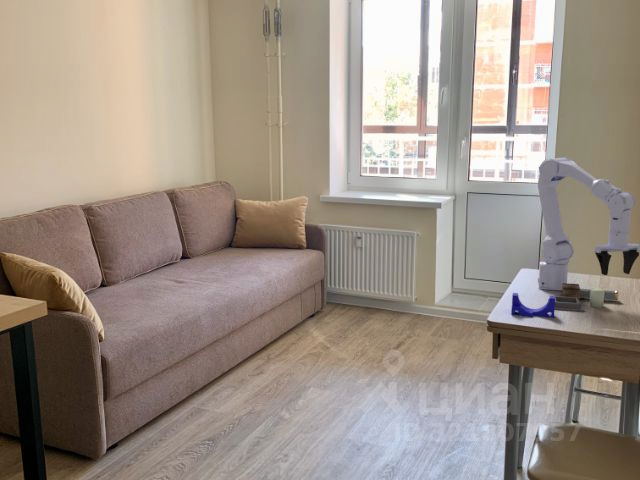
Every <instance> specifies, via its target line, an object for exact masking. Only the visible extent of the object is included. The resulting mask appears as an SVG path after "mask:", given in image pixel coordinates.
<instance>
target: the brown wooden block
mask: <svg viewBox="0 0 640 480" xmlns="http://www.w3.org/2000/svg"><path fill="white" fill-rule="evenodd" d="M580 289H581V287H580V284H579V283H568V282H567V283H562V290H561V296H562V297H576V298H578V300H579V301H581V300H580V299H581V298H580Z"/></svg>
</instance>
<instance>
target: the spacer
mask: <svg viewBox="0 0 640 480" xmlns="http://www.w3.org/2000/svg"><path fill="white" fill-rule="evenodd" d="M604 290H605V289H602V288H597V287H595V288H591V291H590V298H589V307H592V308H597V309H598V308H603V307H604V300H605V299H604V292H605V291H604Z"/></svg>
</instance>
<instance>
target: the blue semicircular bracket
mask: <svg viewBox="0 0 640 480" xmlns="http://www.w3.org/2000/svg"><path fill="white" fill-rule="evenodd" d="M555 296H556V295H549V298H548V299H549V301H548V300H547V302H546V304H545V305H543V306H541V307H539V308H529V307H527V306H526V305H524V304H523V303H522V301H521V300H520V296H519V293H518V292H513V293H512V298H511V309H510V311H511V313H510V315H511V316H515V313H516V312H517V316H519V317H529V318H533V317H534V316H535V317H541V318H542V317H543V318H551V319H554V318H555Z"/></svg>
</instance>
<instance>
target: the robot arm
mask: <svg viewBox="0 0 640 480" xmlns="http://www.w3.org/2000/svg"><path fill="white" fill-rule="evenodd" d="M538 171H539V175H538V181H537V190H538V195H539V199H540V200H539V201H540V206H541V207H540V208H541V211H542V216H543V217H542V218H543V221H544V229H545V234H546V236H545V238H544V239H543V240H542V251H541V254H542V258H543V259H544V261H539V268H538V277H537V283H538V284H537V285H538V289H539V290H549V291H562V283H568V276H569V273H568V272H569V262H570V259H571V258H572V257H573V255H574V247H573V245H572V244H571V242H570V237H569V236H568V235H566V233H564V228H563V223H562V218H561V212H560V205H559V200H558V194H557V190H556V189H557V188H556V187H557V186H558V184H560V182H561V181H562V180H563V179H565V178H566V177H569V178H572V179H574V180H575V181H577V182H579V183H581V184H582V185H584V186H586V187H587V188H589V190H590V194H591V195H592V196H594V197H596V198H597V199H599V200H600V201H601V202H603V203H604V204H605V205H606V206H607V209H609V228H608V238H607V243H606V244H597V245H594V253H595V256H596V258H597V260H598V263H599V266H600V271H601V272H600V273H601V274H602V275H603V276H608V273H609V265H610V261H611V258H612V255H611V254H610V253H612V252H613V253H614V252H622V257H623V265H622V266H623V268H622V270H623V273H624V274H626V275H630V273H631V271H632V267H633V265H634V263H635V261H636V260H637V259H638V257H639V256H640V244H638V243H629V239H630V238H629V235H630V234H629V233H630V223H631V213H632V209H634V207H635V205H636V198H635V196H634V195H633V194H632V193H631V192H630V191H623V190H622V189H621V188H620V187H616V186H615V185H613V184H612V183H610V182H611V181H610V180H608V179H607V178H606V179H603V178H599V179H597V178H595V177H594V176H593V175H591V174H590V173H589V172H587V170H585V169H583V168H582V167H580V166H579V165H577V163H576V162H575V161H573V160H571V159H570V158H568V157H564V156H563V157H557V158H545V159H544V160H543V161H542V163H541V164H540V165H539V166H538Z"/></svg>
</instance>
